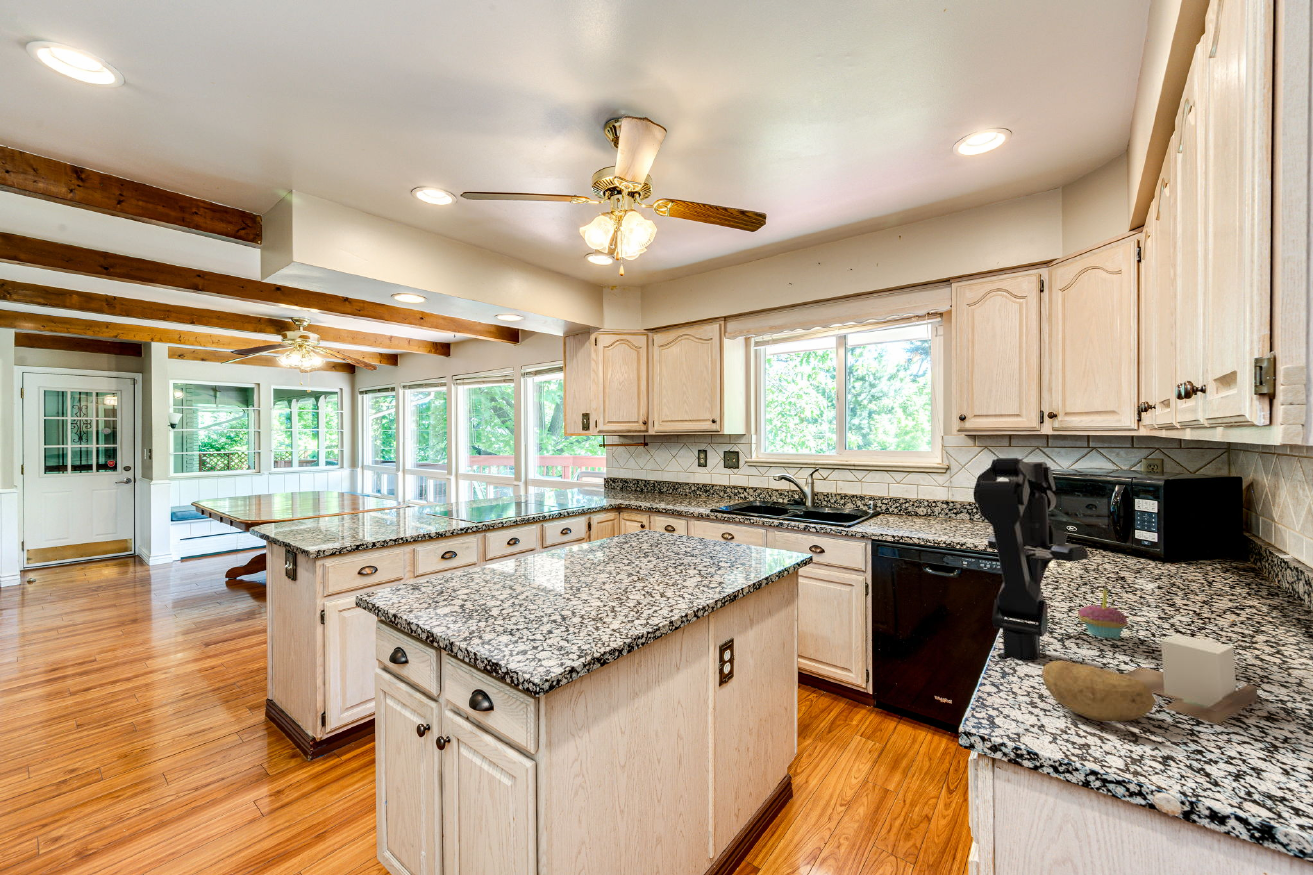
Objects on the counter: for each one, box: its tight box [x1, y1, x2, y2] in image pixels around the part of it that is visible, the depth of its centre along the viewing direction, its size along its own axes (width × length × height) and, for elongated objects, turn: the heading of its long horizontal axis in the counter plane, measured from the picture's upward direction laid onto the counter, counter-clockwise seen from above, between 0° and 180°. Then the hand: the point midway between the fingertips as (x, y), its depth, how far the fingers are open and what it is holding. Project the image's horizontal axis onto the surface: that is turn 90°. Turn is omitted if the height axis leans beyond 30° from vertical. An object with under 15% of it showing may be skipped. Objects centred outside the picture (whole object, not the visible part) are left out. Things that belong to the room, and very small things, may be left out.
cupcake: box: [1077, 586, 1128, 640], centre depth 117 cm, size 9×8×12 cm
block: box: [1160, 633, 1237, 707], centre depth 88 cm, size 7×6×9 cm
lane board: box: [1123, 666, 1259, 725], centre depth 90 cm, size 15×16×3 cm
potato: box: [1041, 660, 1156, 723], centre depth 85 cm, size 10×14×8 cm
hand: (1036, 585), depth 119 cm, fingers closed
